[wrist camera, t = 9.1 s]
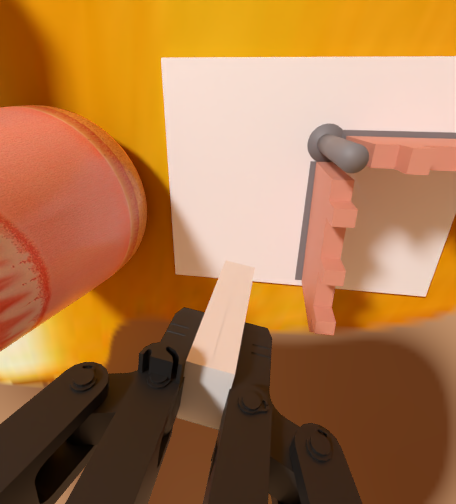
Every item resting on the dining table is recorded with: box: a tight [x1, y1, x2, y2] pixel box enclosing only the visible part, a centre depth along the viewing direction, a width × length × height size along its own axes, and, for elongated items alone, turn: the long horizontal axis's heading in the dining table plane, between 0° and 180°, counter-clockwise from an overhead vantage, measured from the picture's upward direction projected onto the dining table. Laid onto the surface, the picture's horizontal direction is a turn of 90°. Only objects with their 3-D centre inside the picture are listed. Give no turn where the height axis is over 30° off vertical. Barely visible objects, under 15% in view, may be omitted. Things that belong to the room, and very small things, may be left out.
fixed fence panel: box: [317, 134, 456, 175], centre depth 17 cm, size 13×1×9 cm, turn 89°
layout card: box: [161, 56, 456, 297], centre depth 24 cm, size 23×18×1 cm
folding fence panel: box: [302, 162, 358, 335], centre depth 21 cm, size 11×1×9 cm, turn 0°
